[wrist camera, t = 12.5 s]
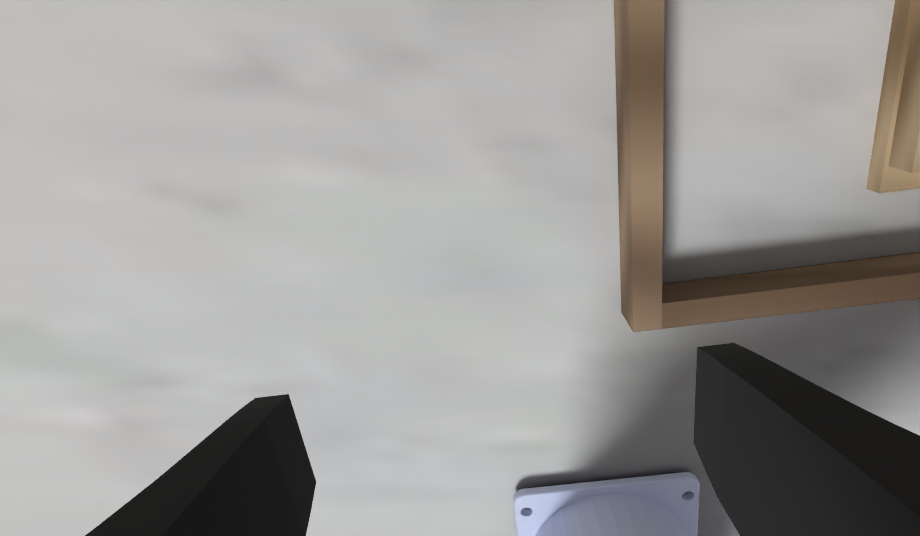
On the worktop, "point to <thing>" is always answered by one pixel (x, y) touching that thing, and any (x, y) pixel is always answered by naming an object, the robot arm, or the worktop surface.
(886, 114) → the offcut stack
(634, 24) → the brown flat square frame
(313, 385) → the worktop surface
